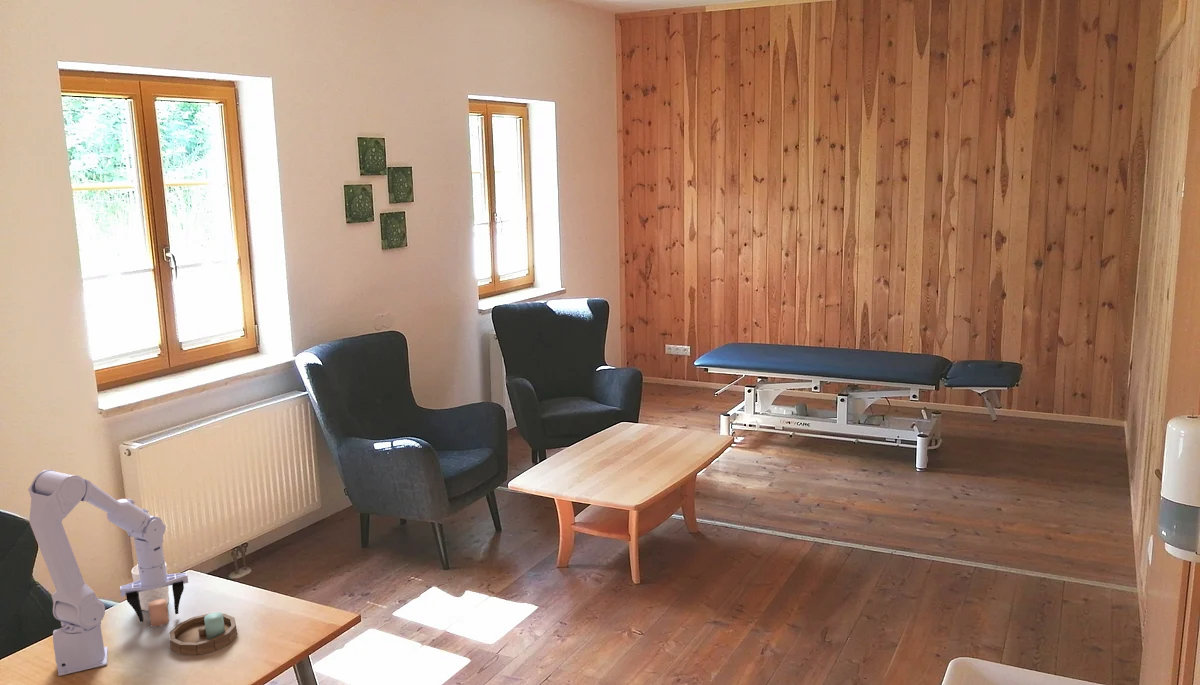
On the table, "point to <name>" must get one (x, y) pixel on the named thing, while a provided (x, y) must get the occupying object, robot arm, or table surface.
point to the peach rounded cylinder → (158, 612)
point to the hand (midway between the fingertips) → (159, 616)
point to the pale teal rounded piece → (214, 625)
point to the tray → (200, 636)
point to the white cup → (150, 591)
